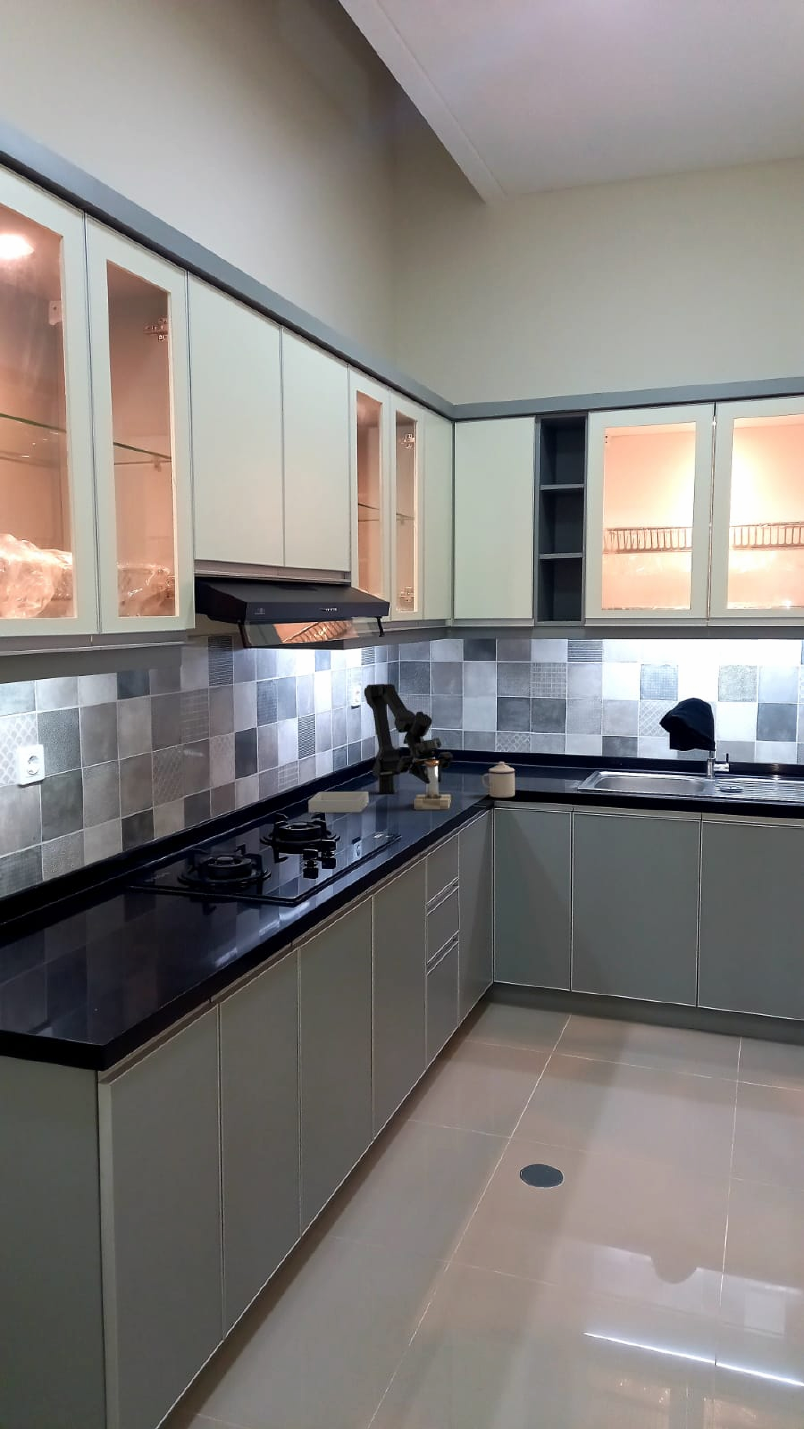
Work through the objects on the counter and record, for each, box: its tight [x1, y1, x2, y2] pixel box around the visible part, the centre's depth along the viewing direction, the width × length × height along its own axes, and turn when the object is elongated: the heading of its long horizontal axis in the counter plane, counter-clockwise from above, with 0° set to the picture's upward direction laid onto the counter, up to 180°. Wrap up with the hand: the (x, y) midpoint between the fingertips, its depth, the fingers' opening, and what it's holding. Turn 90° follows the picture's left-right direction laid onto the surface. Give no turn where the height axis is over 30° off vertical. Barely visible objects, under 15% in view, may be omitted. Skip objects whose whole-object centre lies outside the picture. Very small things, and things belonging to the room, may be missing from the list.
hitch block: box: [413, 793, 451, 811], centre depth 334 cm, size 11×11×3 cm
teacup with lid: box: [481, 761, 516, 799], centre depth 350 cm, size 12×9×12 cm
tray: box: [308, 791, 369, 813], centre depth 336 cm, size 17×17×4 cm
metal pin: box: [424, 760, 439, 799], centre depth 333 cm, size 5×5×15 cm
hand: (434, 782), depth 332 cm, fingers open, 4 cm apart
